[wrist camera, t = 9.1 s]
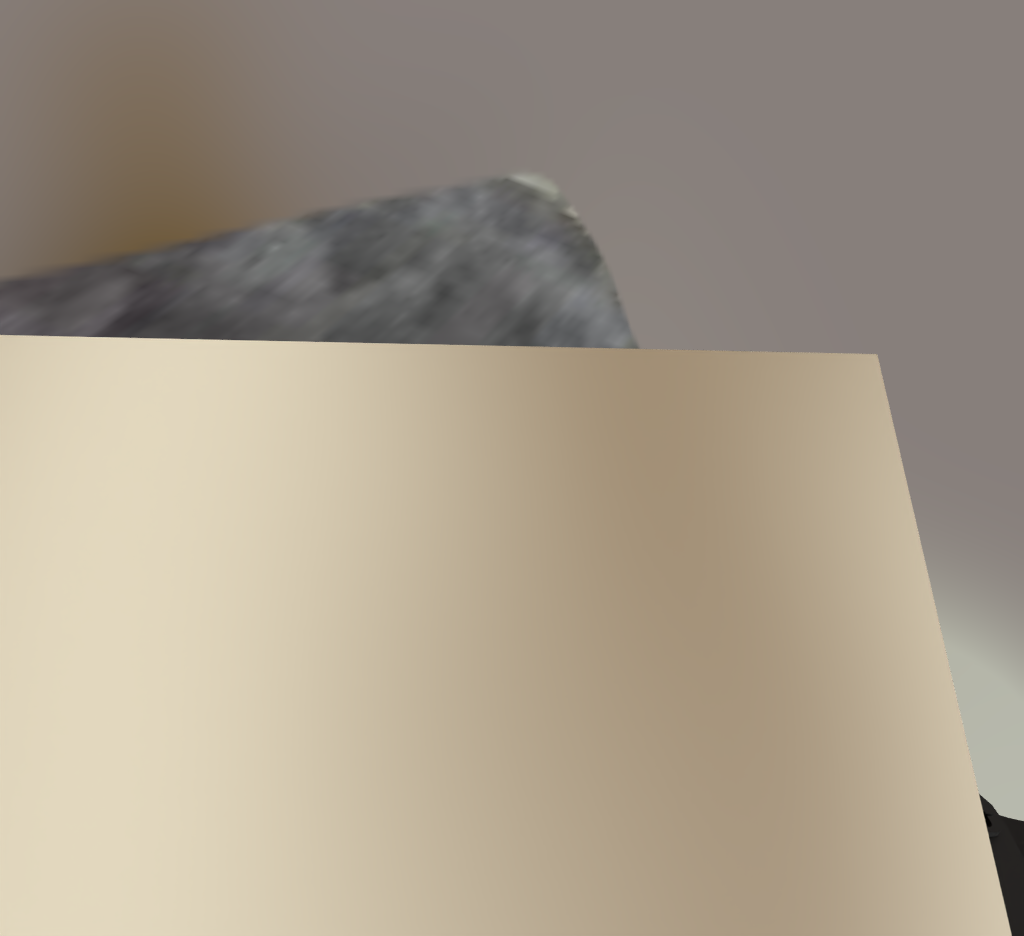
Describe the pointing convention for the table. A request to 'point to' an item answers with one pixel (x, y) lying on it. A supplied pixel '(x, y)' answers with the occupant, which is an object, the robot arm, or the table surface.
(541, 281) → the table surface
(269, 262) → the table surface
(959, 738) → the pale wooden block
